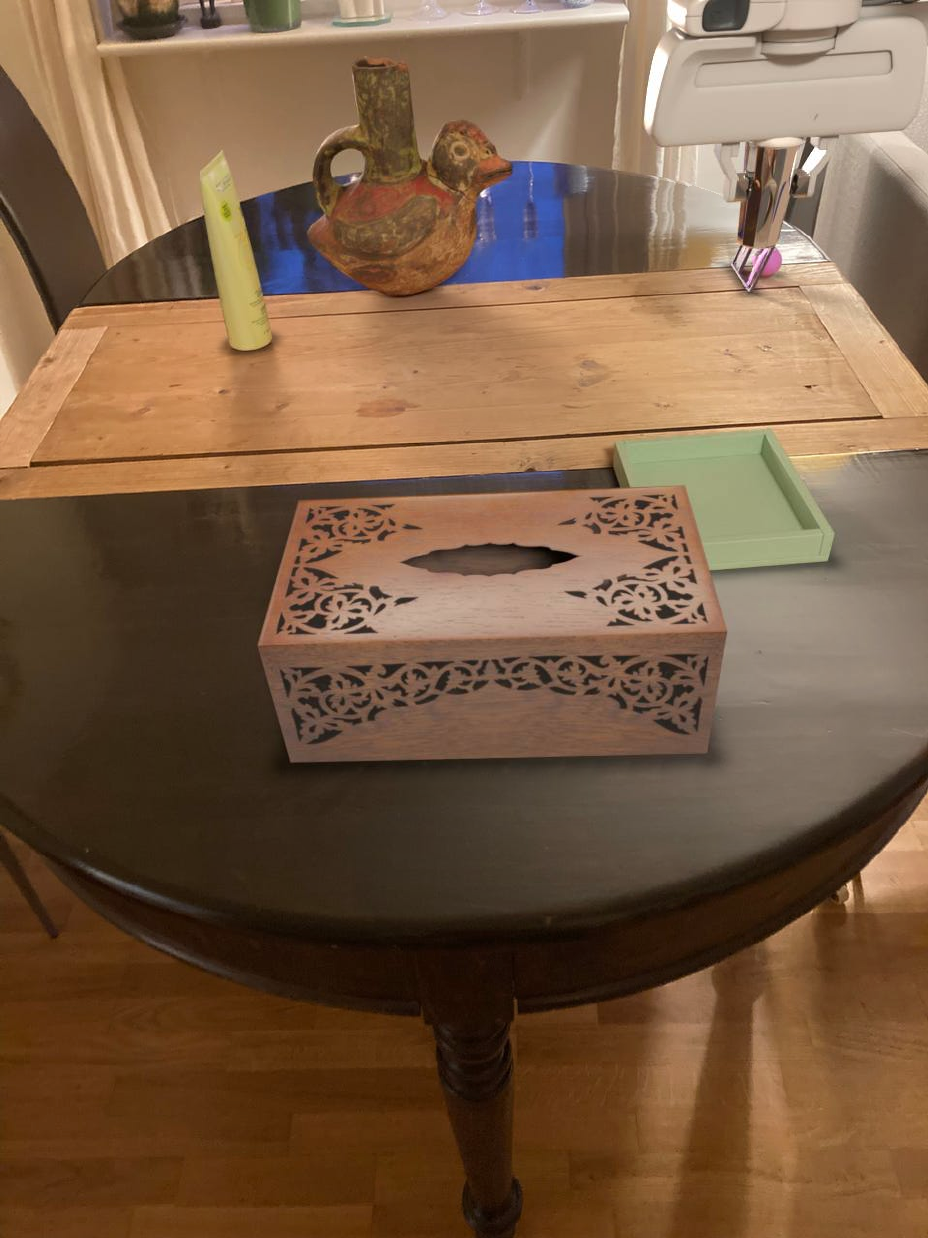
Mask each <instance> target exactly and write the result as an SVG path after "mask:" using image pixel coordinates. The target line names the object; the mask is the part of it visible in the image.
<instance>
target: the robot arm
mask: <svg viewBox="0 0 928 1238" xmlns="http://www.w3.org/2000/svg"><path fill="white" fill-rule="evenodd" d="M667 16H668V19H669V21H670V23H671V24H672V26H673V27H672V28H670V29H668V30H667V31H666V32H665V33H664V35H663V36H662V37H661V38H660V40H659V41H658V44H657V46H656V49H655V50H654V51H655V52H654V54H653V59H652V63H651V68H650V73H649V78H648V84H647V89H646V98H645V106H644V116H643V117H644V118H643V125H644V130H645V132H646V134H647V136H648V137H649V138H650V140H651V141H652V142H653V143H654V144H655V145H656V146H657V147H659V148H675V147H690V146H691V147H692V146H704V145H714V146H713V153H714V155H715V157H716V160H717V163H718V165H719V166H720V169H721V171H722V174H723V175H724V181H723V188H722V189H723V190H722V197H723V200H724V201H725V202H726V203H728V204H729V203H738V202H740V203H741V201H746V198H747V193H746V190H747V189H748V184H749V179H748V178H747V177H745V175H744V174H743V172H737V170H736V168H735V165H734V164H733V161H732V159H731V158H738V156H739V153H740V146H741V143H745V142H748V141H762V140H771V139H777V138H785V137H792V138H805V137H807V138H810V141H809V143H810V144H811V145H812V146H813V147H814V148H813V150H812V152H811V153H810V155H809V156H808V157H807V159H806V161H805V162H804V164H803V165H802V166H801V168H798V170H797V173H796V176H795V179H794V183H793V186H792V190H791V194H790V196H791V198H793V199H797V198H799V199H800V198H812V197H813V196H814V194H815V187H816V182H817V178H818V175H820V173H821V172H822V170H823V169H824V168H825V166H826V165H827V164H828V163H829V161H830V160H831V159H832V157H833V156H834V154H835V153H836V152H837V148H838V144H839V139H840V136H845V135H858V134H859V135H860V134H873V133H875V134H876V133H889V132H901V131H905V130H906V129H907V128H908V126H910V124H911V123H912V122H913V121H914V120H915V119H916V117H917V116H918V114H919V111H920V107H921V102H922V96H923V90H924V83H925V75H926V67H927V55H928V0H667ZM817 114H819V115H818V116H817ZM816 116H817V118H816V119H815V117H816ZM814 119H815V120H814Z"/></svg>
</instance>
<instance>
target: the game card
mask: <svg viewBox="0 0 928 1238" xmlns="http://www.w3.org/2000/svg"><path fill="white" fill-rule="evenodd" d="M779 240H780V238H779V239H778V241H779ZM752 251H753V249H752V248H748V247H744V246H742V245H741V244H739V246H738V248H737V251H736V252H735V255H734V257H733V259H732V261H731V263H730V266H731V268H732V269H733V272H735V274H736V275H737V277H738V279H739V280H740V281H741V283H742V285H743V286H744V288H745V290H746V291H747V292H748V293H751V294H753V292H754V290H755V288H756V287H757V284H758V282H759V280H760V278H761V277H762V276H764V277H765V276H767V277H768V276H769V277H770V276H773V275H777V274H778V273H779V270H780V268H781V267H782V264H783V256H782V253H781V251H780V250H779V249H778V248H777V247H776V246H775V247H771V248H767V249H755V251H754V253H753V255H751V254H752ZM750 255H751V262H752V265H753V268H752V270H751V272H750V274H749V276H748V280H747V279H746V277H745V275H744V274H743V270H744V268H745V265H746V264H747V261H748V259H749V257H750ZM756 272H757V273H756ZM755 273H756V275H755ZM754 276H755V277H754ZM753 278H754V279H753ZM751 283H752V284H751Z"/></svg>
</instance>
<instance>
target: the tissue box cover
mask: <svg viewBox="0 0 928 1238" xmlns="http://www.w3.org/2000/svg"><path fill="white" fill-rule="evenodd" d="M715 587H716V586H715V583H714V581H713V577H712V574H711V570H709V566H708V563H707V559H706V556H705V552H704V549H703V545H702V542H701V538H700V535H699V531H698V528H697V524H696V521H695V517H694V514H693V510H692V507H691V503H690V500H689V496H688V493H687V489H686V486H685V485H679V486H653V487H627V488H620V487H604V488H603V487H602V488H580V489H579V488H578V489H555V490H554V489H552V490H550V489H549V490H529V491H527V490H526V491H503V492H502V491H500V492H477V493H476V492H475V493H474V492H473V493H449V494H425V495H424V494H421V495H398V496H374V497H372V496H371V497H348V498H347V497H346V498H320V499H299V500H298V501H297V505H296V509H295V511H294V516H293V518H292V523H291V525H290V530H289V534H288V536H287V540H286V543H285V548H284V551H283V553H282V557H281V561H280V564H279V569H278V572H277V575H276V578H275V583H274V585H273V589H272V592H271V597H270V600H269V603H268V607H267V609H266V610H267V611H266V614H265V618H264V621H263V624H262V628H261V631H260V632H261V633H260V635H259V639H258V643H257V649H258V652H259V656H260V660H261V664H262V667H263V670H264V674H265V677H266V680H267V685H268V688H269V691H270V694H271V698H272V702H273V705H274V709H275V712H276V716H277V719H278V723H279V726H280V730H281V733H282V738H283V740H284V744H285V748H286V751H287V755H288V758H289V761H290V763H331V762H334V763H335V762H372V761H373V762H374V761H375V762H377V761H417V760H419V761H421V760H422V761H423V760H463V759H464V760H466V759H469V760H470V759H509V758H510V759H513V758H514V759H515V758H556V757H557V758H559V757H560V758H561V757H600V756H601V757H602V756H650V755H651V756H652V755H653V756H654V755H691V754H693V755H696V754H697V755H698V754H699V755H700V754H707V753H708V747H709V742H710V737H711V731H712V724H713V719H714V712H715V707H716V701H717V695H718V691H719V690H718V689H719V683H720V677H721V670H722V667H723V666H722V665H723V659H724V654H725V648H726V643H727V636H728V629H727V625H726V622H725V619H724V615H723V613H722V612H723V611H722V608H721V605H720V604H721V603H720V601H719V597H718V594H717V591H716V588H715Z"/></svg>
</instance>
